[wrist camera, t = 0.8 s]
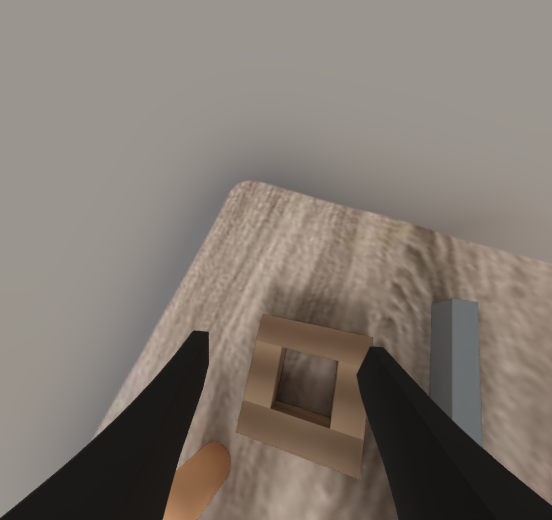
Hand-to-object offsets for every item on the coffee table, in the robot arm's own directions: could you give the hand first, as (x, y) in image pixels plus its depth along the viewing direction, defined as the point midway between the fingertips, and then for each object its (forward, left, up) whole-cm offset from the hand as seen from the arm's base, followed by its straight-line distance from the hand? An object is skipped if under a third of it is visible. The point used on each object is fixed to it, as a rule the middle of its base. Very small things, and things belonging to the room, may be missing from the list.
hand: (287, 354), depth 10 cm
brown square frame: (-4, 0, -18) cm, 18 cm away
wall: (-4, -13, -18) cm, 23 cm away
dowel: (-15, +9, -18) cm, 25 cm away
